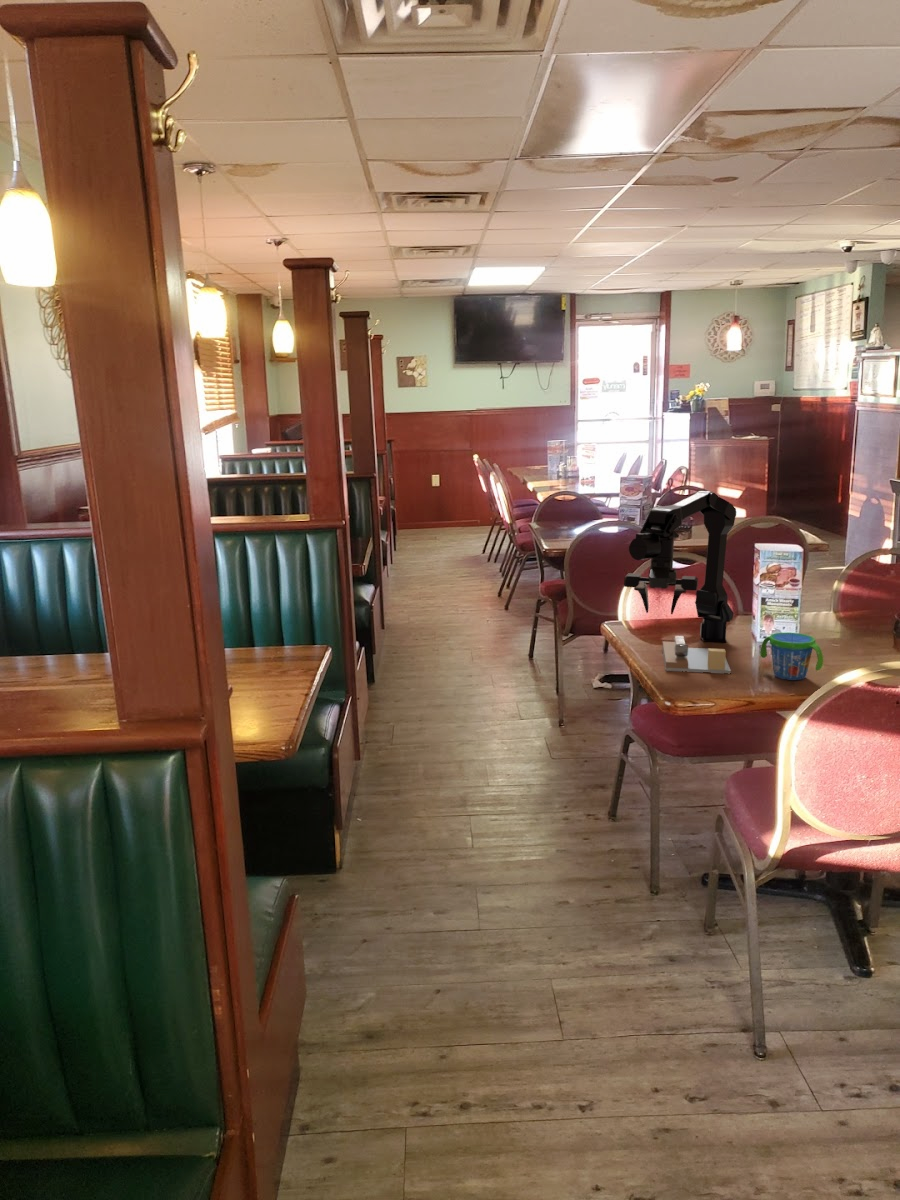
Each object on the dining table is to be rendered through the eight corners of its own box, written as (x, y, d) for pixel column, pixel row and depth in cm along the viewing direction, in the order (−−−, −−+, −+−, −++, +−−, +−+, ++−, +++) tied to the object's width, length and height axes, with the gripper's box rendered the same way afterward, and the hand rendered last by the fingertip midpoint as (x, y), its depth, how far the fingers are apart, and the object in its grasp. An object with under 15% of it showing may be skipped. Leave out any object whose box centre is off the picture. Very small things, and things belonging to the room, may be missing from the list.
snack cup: (749, 672, 215) (752, 633, 213) (776, 665, 221) (779, 627, 218) (803, 688, 202) (806, 647, 200) (830, 681, 208) (834, 641, 205)
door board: (722, 651, 233) (723, 632, 232) (730, 673, 214) (732, 652, 213) (662, 649, 236) (663, 630, 235) (665, 670, 217) (666, 649, 216)
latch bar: (688, 656, 218) (688, 647, 217) (675, 656, 218) (675, 646, 218) (684, 643, 230) (685, 634, 230) (672, 642, 231) (673, 633, 230)
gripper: (622, 559, 220) (620, 617, 223) (697, 562, 214) (693, 622, 217) (627, 552, 230) (625, 608, 233) (699, 555, 224) (696, 612, 227)
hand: (659, 613), depth 228 cm, fingers open, 6 cm apart
